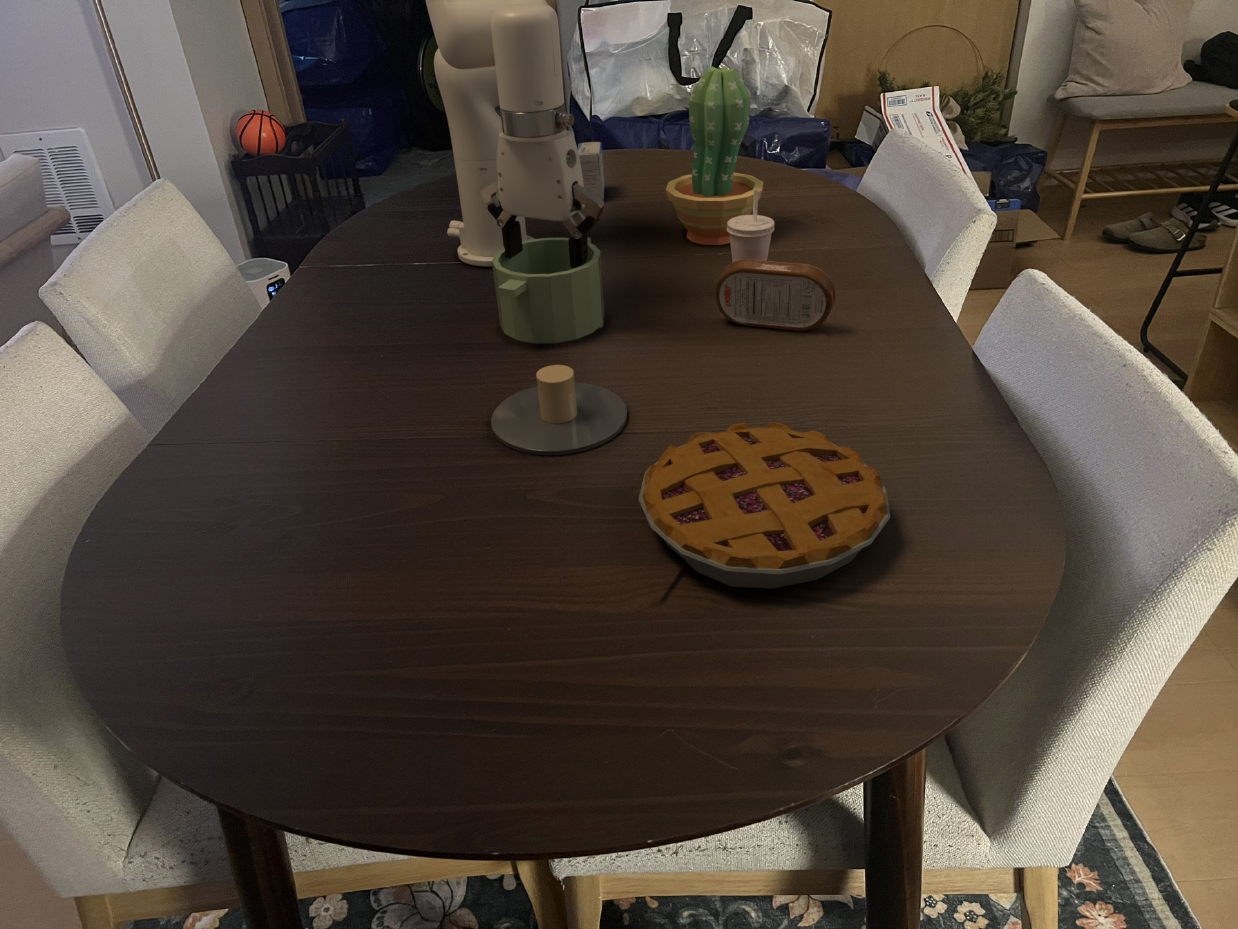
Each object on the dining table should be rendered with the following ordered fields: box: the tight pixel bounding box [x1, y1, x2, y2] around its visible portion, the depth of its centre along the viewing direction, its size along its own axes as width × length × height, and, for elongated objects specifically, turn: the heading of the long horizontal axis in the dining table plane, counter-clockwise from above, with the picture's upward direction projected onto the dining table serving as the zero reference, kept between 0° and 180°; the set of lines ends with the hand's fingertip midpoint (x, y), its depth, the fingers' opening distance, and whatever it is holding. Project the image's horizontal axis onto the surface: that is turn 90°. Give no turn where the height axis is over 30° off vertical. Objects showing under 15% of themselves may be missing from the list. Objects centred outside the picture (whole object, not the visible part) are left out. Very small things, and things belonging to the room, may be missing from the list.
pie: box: [638, 421, 891, 589], centre depth 83 cm, size 22×22×5 cm
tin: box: [714, 259, 836, 332], centre depth 116 cm, size 15×3×8 cm, turn 71°
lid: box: [490, 364, 628, 457], centre depth 99 cm, size 15×15×6 cm
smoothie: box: [727, 189, 775, 263], centre depth 125 cm, size 6×6×14 cm
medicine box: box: [577, 141, 605, 202], centre depth 166 cm, size 8×4×9 cm, turn 179°
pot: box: [492, 237, 605, 344], centre depth 120 cm, size 14×19×10 cm
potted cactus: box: [665, 65, 764, 246], centre depth 141 cm, size 15×15×25 cm
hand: (546, 259), depth 118 cm, fingers open, 9 cm apart
